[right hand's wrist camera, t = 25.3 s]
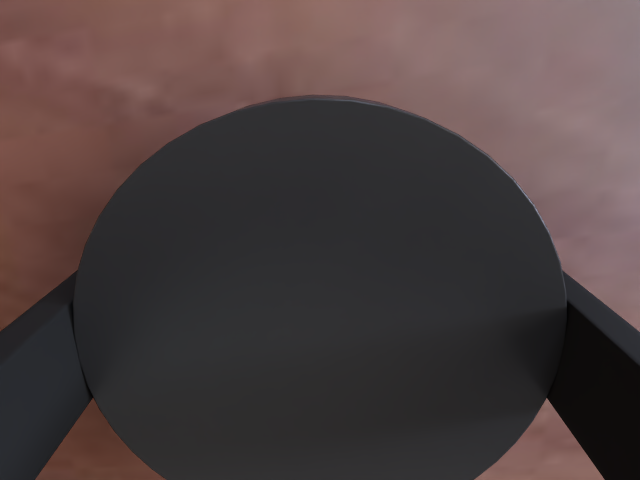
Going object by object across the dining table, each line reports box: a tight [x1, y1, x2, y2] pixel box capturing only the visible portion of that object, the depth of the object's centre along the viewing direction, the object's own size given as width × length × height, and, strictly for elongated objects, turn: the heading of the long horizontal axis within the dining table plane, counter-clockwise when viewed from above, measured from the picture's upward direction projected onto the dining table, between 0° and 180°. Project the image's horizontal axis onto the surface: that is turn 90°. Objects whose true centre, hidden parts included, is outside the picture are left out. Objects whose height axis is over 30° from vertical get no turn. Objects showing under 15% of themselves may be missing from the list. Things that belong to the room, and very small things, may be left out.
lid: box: [73, 95, 567, 480], centre depth 11 cm, size 11×11×2 cm
